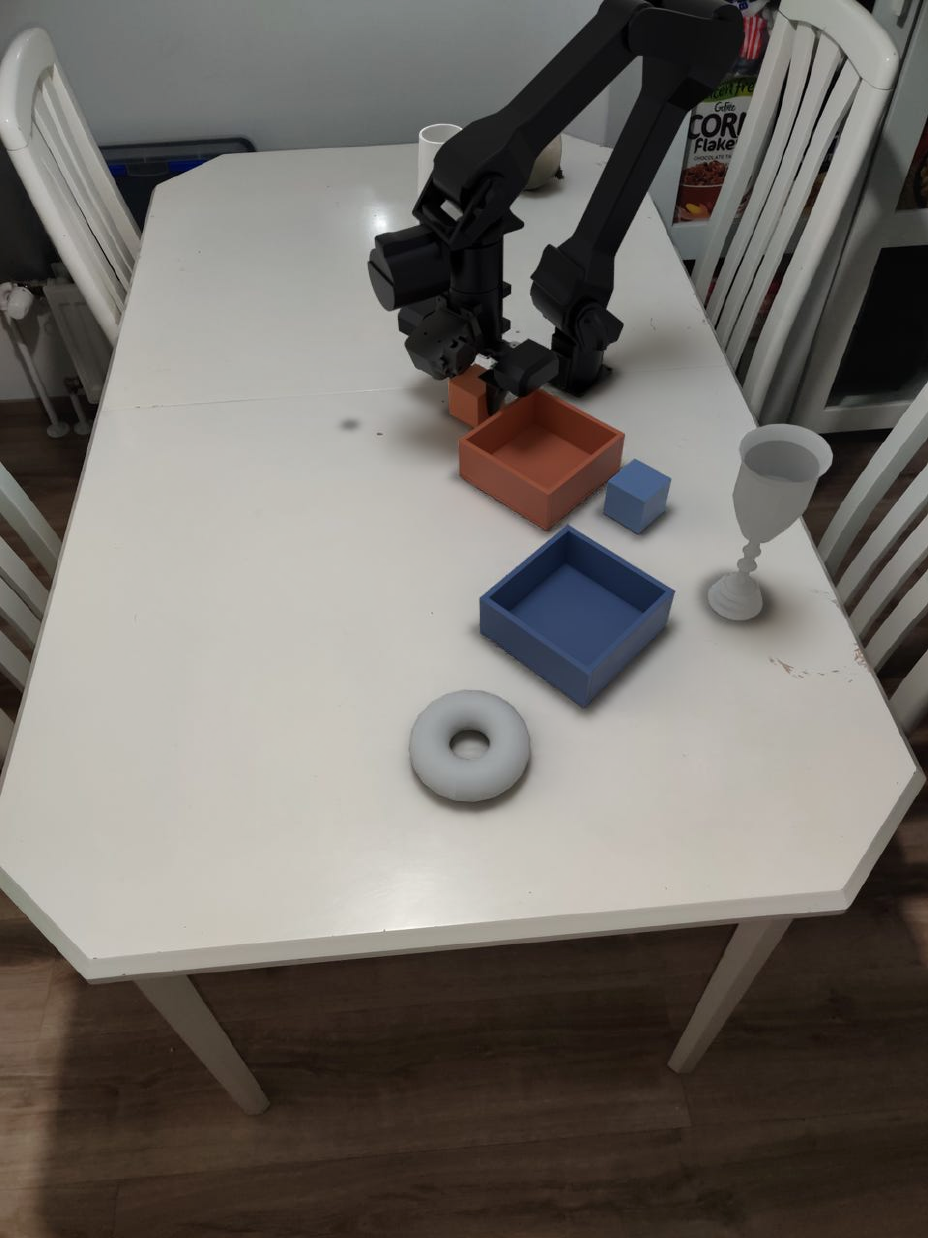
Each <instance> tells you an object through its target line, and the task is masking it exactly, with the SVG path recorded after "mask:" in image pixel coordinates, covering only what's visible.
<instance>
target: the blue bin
mask: <svg viewBox="0 0 928 1238" xmlns="http://www.w3.org/2000/svg"><path fill="white" fill-rule="evenodd" d="M675 594H676V590H675V589H673V588H671V587H670V586H669V585H667V584H665V583H664V582H661V581H660V580H659V579H657V578H656V577H654V576H652V575H651V574H648V572H645V571H644V570H642V569H641V568H639V567H637V566H636V565H635V564H633V563H631V562H629V561H628V560H626V559H624V558H623V557H621V556H619V555H618V554H617V553H615V552H613V551H611V550H610V549H608V548H607V547H606V546H603V545H602V544H600V543H599V542H597V541H595V540H594V539H592V538H590V537H589V536H588V535H586V534H584V533H583V532H582V531H580V530H578V529H576V528H574V527H573V526H571V525H570V524H568V523H567V524H566V525H565V526H563V528H561V529H560V530H558V532H556V533H555V534H554V535H553V536H552V537H550V538H549V539H548V540H547V541H546V542H545V543H543V544H542V545H541V546H540V547H539V548H537V549H536V550H535V551H534V552H533V553H531V554H530V555H529V556H528V557H527V558H525V559H524V560H523V561H522V562H520V563H519V564H518V565H517V566H515V567H514V568H513V569H512V570H511V571H510V572H508V573H507V574H506V575H505V576H504V577H502V578H501V580H499V581H498V582H497V583H495V584H494V585H493V586H492V587H491V588H489V589H488V590H487V591H486V592H484V593H483V594H482V595H481V596H480V597H479V598H478V600H479V601H478V602H479V603H478V604H479V605H478V606H479V607H478V608H479V633H480V634H482V635H483V636H484V637H486V638H487V639H488V640H490V641H491V642H492V643H494V644H495V645H496V646H498V648H499V647H500V649H502V650H504V651H505V652H506V653H508V654H509V655H510V656H512V657H513V658H515V659H516V660H517V661H519V662H520V663H521V664H523V665H524V666H525V667H526V668H528V669H530V670H531V671H532V672H534V673H535V674H537V676H539V677H540V678H542V679H543V680H545V682H547V683H548V684H550V685H551V686H552V687H554V688H555V689H556V690H558V691H559V692H561V693H562V694H564V696H566V697H567V698H569V699H570V700H571V701H573V702H574V703H575V704H577V705H579V706H580V707H581V708H583V709H584V708H585V707H586V706H588V704H589V703H590V702H592V700H593V699H594V698H595V697H596V696H597V695H598V694H599V693H600V692H601V691H603V690H604V688H606V687H607V685H608V684H609V683H610V682H612V681H613V679H615V677H617V676H618V674H619V673H621V671H623V669H624V668H625V667H627V666H628V664H630V663H631V662H632V660H634V659H635V658H636V657H637V655H639V654H640V653H641V652H642V651H643V650H644V649H645V648H646V646H648V645H649V644H650V643H651V642H652V641H653V640H654V639H655V637H657V636H658V635H659V634H660V633H661V632H662V631H663V630H664V629H665V628H666V627H667V625H668V621H669V617H670V613H671V609H672V606H673V602H674V598H675Z"/></svg>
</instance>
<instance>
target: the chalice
mask: <svg viewBox="0 0 928 1238" xmlns="http://www.w3.org/2000/svg"><path fill="white" fill-rule="evenodd" d="M738 447H739V448H738V453H739V456H740V460H741V462H740V466H739V470H738V474H737V477H736V479H735V484H734V487H733V491H732V494H731V495H732V502H733V503H732V504H733V509H734V514H735V518H736V521H737V523H738V524H737V525H738V527H739V529H740V532H741V534H742V536H743V537H744V539H746V540H747V541H748V542H747V544H745V545H744V546H742V549H741V551H742V553H743V558H740V559H738V560H737V562H736V567H737V568H738V571H733V572H730V573H726V574H725V575H723V576H721V578H720V579H719V580H717V581H716V583H715V582H714V584H712V586H711V587H710V588H709V590H708V593H707V600H708V604H709V606H710V607H711V609H712V610H713V611H714V612H715V613H717V614H718V616H721V617H723V618H725V619H727V620H732V621H747V620H750V619H753V618H754V617H756V616H758V615H759V614H760V612H761V610H762V609H763V605H764V604H763V603H764V601H763V598H762V592H761V589H760V585H759V583H758V581H757V580H756V579H755V578H754V577H752V576H751V575H750V574H751V573H753V572H754V571H756V570H757V568H758V564H757V562H756V561H755V560H756V558H758V557H759V556H761V554H762V550H761V544H766V543H769V542H771V541H772V540H774V539H776V538H777V537H778V536H779V535H781V534H782V533H784V532H785V531H786V530H788V529H790V527H792V525H793V524H795V522H796V521H798V519H800V517H801V516H803V514H804V513H805V511H806V510H807V508H808V507H809V504H810V502H811V498H812V496H813V493H814V491H815V489H816V486H817V484H818V481H819V479H820V477H822V475H824V474H826V472H827V471H828V470H829V469H830V467H831V466H832V464H833V457H834V454H833V451H832V449H831V446H830V445H829V443H828V442H827V441H826V439H824V438H823V437H822V436H821V435H819V434H818V433H816V432H815V431H813V430H811V429H809V428H806V427H803V426H800V425H796V424H789V423H771V424H766V425H762V426H759V427H758V426H757V427H756V428H754V429H752V430H751V431H748V432H747V433H746V434H745V436H743V438H742V439H741V440H740V444H739V446H738Z"/></svg>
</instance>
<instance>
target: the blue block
mask: <svg viewBox="0 0 928 1238" xmlns="http://www.w3.org/2000/svg"><path fill="white" fill-rule="evenodd" d="M671 484H672V478H671V477H670V476H667V475H666V474H665V473H662V472H661V471H660V470H657V469H655V468H654V467H652V466H650V465H648V464H646V463H644V462H643V461H641V460H639V459H637V458H633V459H632V460H631V461H630V462H629V463H627V464H626V465H625V466H624V467H623V468H620V470H619V471H618V472H617V473H616V474H615V475H613V476H612V477H611V478H610V479H608V480H607V483H606V491H605V496H604V503H603V504H604V505H603V511H602V512H603V514H604V515H605V516H607V517H609V518H610V519H612V520H614V521H616V522H617V523H619V524H621V525H622V526H624V527H625V528H627V529H629V530H630V531H632V532H634V533H636V534H637V535H640V534H641V533H642V532H643V531H644V530H646V528H647V527H648V526H650V525H651V524H652V523H653V522H654V521H655V520H656V519H657V518H659V516H661V515H662V514H663V513H664V512H665V511H666V507H667V501H668V498H669V497H668V496H669V492H670V487H671Z"/></svg>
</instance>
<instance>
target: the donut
mask: <svg viewBox="0 0 928 1238" xmlns="http://www.w3.org/2000/svg"><path fill="white" fill-rule="evenodd" d="M467 730H469V731H470V730H471V731H477V732H480V733H482V734H483V735H485V737H486V738H487V739H488V741H489V747H488V750H486V752H485V753H484V754H483V755H481V756H480V757H477V758H472V759H467V758H462V757H459V756H457V755H456V754H454V753H453V751H452V750H451V746H450V742H451V740H452V738H453V737H454V736H455V735H456V734H458V733H460V732H463V731H467ZM408 753H409V758H410V762H411V766H412V768H413V769H414V771H415V773H416V774H417V776H418V777H419V779H420V780H421V782H422V783H423V784H424V785H425V786H427V788H429V789H430V790H432V791H433V792H434V793H436V794H437V795H439V796H442V797H445V798H447V799H450V800H452V801H455V802H472V803H476V802H480V801H484V800H485V801H486V800H489V799H492V798H496V797H497V796H499V795H501V794H503V793H505V792H506V791H508V790H510V789H511V788H512V787H513V786H514V784H515V783H516V782H517V781H518V780H519V779H520V778H521V776H523V774H524V771H525V769H526V767H527V764H528V761H529V759H530V757H531V735H530V733H529V729H528V726H527V724H526V721H525V719H524V718H523V716H522V715H521V714H520V712H519V711H518V710H517V709H516V708H515V706H514V705H512V704H511V703H509V702H508V701H506V700H505V699H503V698H502V697H500V696H499V695H496V694H493V693H490V692H487V691H484V690H478V689H477V690H476V689H462V690H457V691H452V692H448V693H446V694H444V695H442V696H440V697H438V698H436V699H435V700H433V701H431V702H430V703H429V704H428V705H427V706H426V707H425V708H424V709H422V711H421V712H420V713H418V715H417V717H416V719H415V722H414V723H413V725H412V727H411V729H410V734H409V742H408Z"/></svg>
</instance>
